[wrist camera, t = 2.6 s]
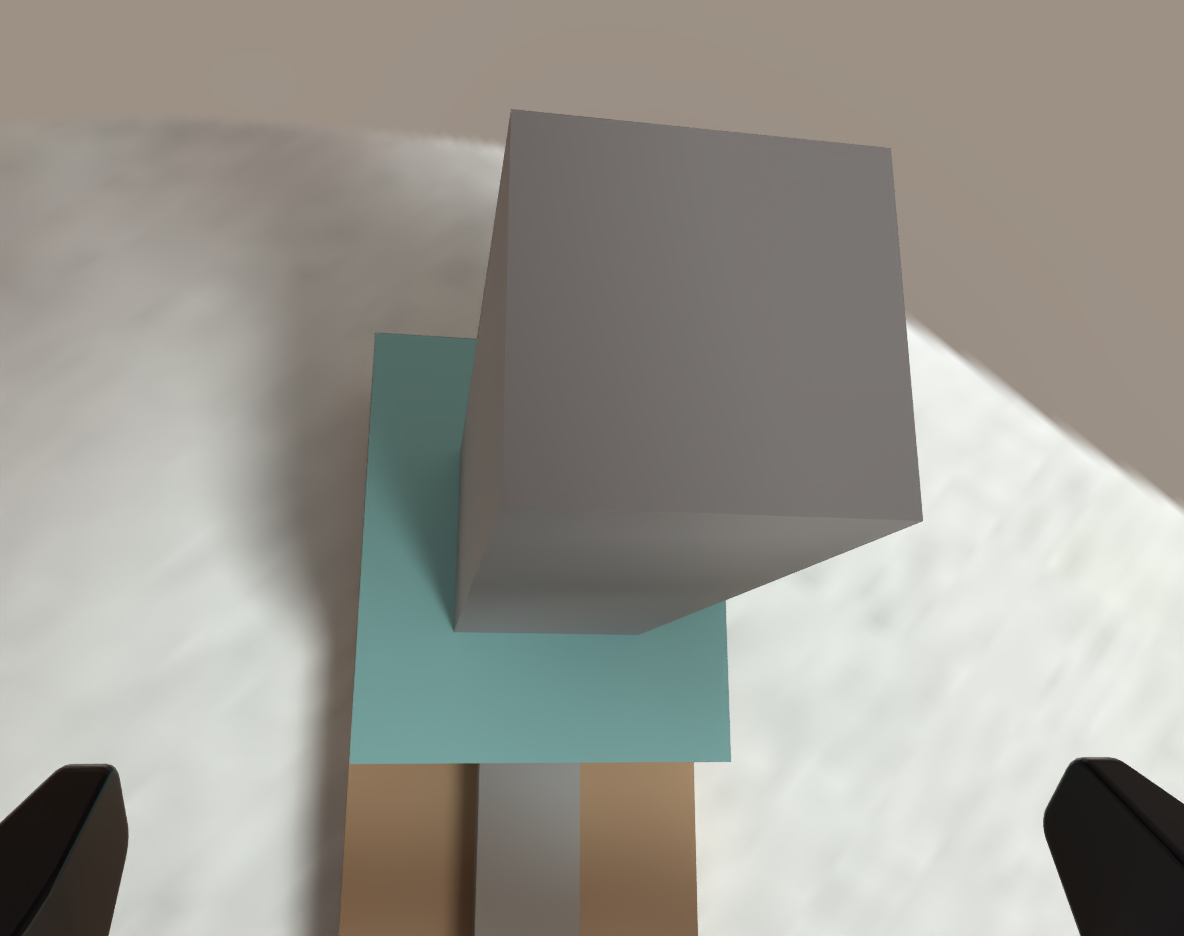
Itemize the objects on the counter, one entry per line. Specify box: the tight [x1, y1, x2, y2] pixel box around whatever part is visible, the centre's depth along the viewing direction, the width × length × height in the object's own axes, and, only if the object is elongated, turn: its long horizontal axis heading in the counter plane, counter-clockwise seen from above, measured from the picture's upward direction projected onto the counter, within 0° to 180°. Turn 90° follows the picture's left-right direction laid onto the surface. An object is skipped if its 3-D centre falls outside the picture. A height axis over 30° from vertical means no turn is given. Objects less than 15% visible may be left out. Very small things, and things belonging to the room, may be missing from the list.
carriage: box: [349, 109, 923, 764], centre depth 13 cm, size 7×6×12 cm
